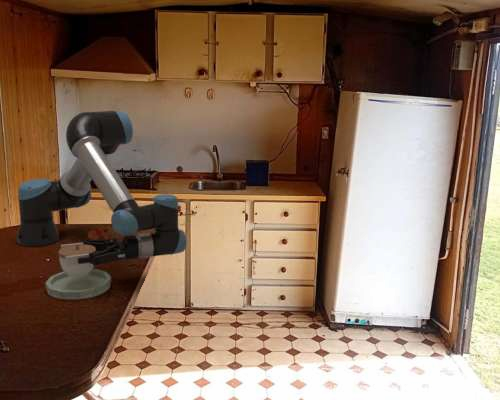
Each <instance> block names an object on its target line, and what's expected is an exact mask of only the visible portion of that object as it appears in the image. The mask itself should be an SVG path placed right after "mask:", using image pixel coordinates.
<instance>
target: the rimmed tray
mask: <svg viewBox="0 0 500 400" xmlns="http://www.w3.org/2000/svg"><path fill="white" fill-rule="evenodd" d="M111 283H112V276H111V275H110V274H109V273H108V272H107V271H104V270H101V269H96V268H93V269H92V270H91V271H90V272H89V274H88V275H87V276H84V277H79V278H74V277H70V276H68V274H67V273H65V272H64V271H61V272H59V273H56V274H54V275H53V274H52V275H51V276H50V277H49V278H48V279H47V280H46V281H45V289H46V291H47V294H48V295H49V296H50V297H52V298H54V299H56V300H57V299H58V300H63V301H64V300H65V301H77V300H78V301H79V300H87V299H91V298H95V297H97V296H100V295H103V294H104V293H106V292H107V291H108V290H110V288H111Z"/></svg>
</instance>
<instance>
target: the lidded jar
mask: <svg viewBox="0 0 500 400" xmlns="http://www.w3.org/2000/svg"><path fill="white" fill-rule="evenodd" d="M74 244H75V243H74ZM89 253H93V254H95V253H97V251H96V248H95V247H94V246H92V245H86V244H75V245H70V246H66V247H63V248H61V247H60V249H59V250H58V256H59V257H58V258H59V259H58V260H59V264H60V267H61V269H62V270H63V271H62V272H65V273H67V274H68V276H70V277H74V278H79V277H84V276H87V275H88V274H89V272H90V271H91V270H92V269H95V266H94V265H93V264H90V263H88V264H80V265H72V266H66V261H65V257H66V256H74V255H83V254H89ZM89 257H90V256H89Z"/></svg>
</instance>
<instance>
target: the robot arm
mask: <svg viewBox="0 0 500 400" xmlns="http://www.w3.org/2000/svg"><path fill="white" fill-rule="evenodd" d="M133 135H134V131H133V124H132V121H131V119H130V117H129V115H128V114H127V113H125V112H124V111H121V110H108V111H107V110H105V111H103V110H102V111H87V112H86V111H83V112H81V113H78V114H76V115H75V116H73V118H71V120H70V121H69V123H68V125H67V127H66V133H65V137H66V138H65V139H66V144H67V147H68V149H69V151H70V153H71V155H72V156H74V157H75V158H76V159H75V161H74V163H73V164H72V166H71V167H70V169H69V170H68V171H66V172H64V173H63V174H61V177H60V178H59V180H53V181H51V180H50V178H44V177H43V178H34V179H29V180H27V181H24V182H22V183H21V184H19V186H18V188H17V190H18V191H17V192H18V193H17V198H18V206H19V207H18V208H19V219H20V224H19V228H18V231H17V233H16V234H17V235H16V241H17V242H16V243H17V245H19V246H22V247H23V246H24V247H41V246H47V245H51V244H55V243H56V242H58V241H60V240H59V239H60V233H59V232H60V231H58V228H57V224H56V223H55V220H54V212H58V211H59V212H60V211H64V210H68V209H69V210H70V209H77V208H81V207H84V206H86V205H87V204H89V202H91V201H90V200H91V198H92V193H93V191H92V190H93V188H92V185H91V181H93V183H94V184H95V186H96V188H97V189H98V190H99V192H100V194H101V196H102V198H103V199H104V200H105V202H106V204H107V205H108V207H109V209H110V210H111V212H112V215H111V218H110V222H111V225H112V229H113V232H114V233H116V234H117V235H120V236H123V238H122V241H118V240H117V239H116V238H109V239H108V238H107V239H104V240H91V239H85V240H83V242H75V243H67V244H61V245H60V249H61V248H63V247H66V246H70V245H75V244H86V245H92V246H94V247H95V248H96V253H95V254H93V253H89V254H83V255H74V256H66V257H65V261H66V266H72V265H80V264H88V263H90V264H93V265H94V267H95V266H99V265H104V264H107V263H111V262H115V261H121V260H126V261H127V260H136V259H138V258H140V259H143V258H144V259H148V258H151V257H158V256H159V257H160V256H168V255H170V256H171V255H172V256H173V255H176V254H181V253H184V252H185V250H186V248H187V236H186V233H185V232H184V230H182V229H179V210H180V209H179V202H178V201H179V200H178V197H177V196H176V195H174V194H170V193H167V194H166V193H164V194H163V193H162V194H156V196H154V198H153V203H149V204H145V205H138V202H137V201H136V199H135V198H134V196H133V195H132V194H131V192H130V191H129V189H128V187H127V186H126V184H125V182H124V181H123V179H122V178H121V177H120V176H119V173H118V172H117V171H116V169H115V167H114V166H113V164H112V163H111V161H110V159H108V156H109V155H113V154H114V153H116V151H117V150H118V149H119V147H120V145H126V144H130V143H131V141H132V139H133ZM151 229H154V232H146V233H145V232H144V233H139V232H143V231H147V230H151ZM136 233H138V234H137V235H135V234H136ZM89 256H90V257H89Z"/></svg>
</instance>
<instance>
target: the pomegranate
mask: <svg viewBox="0 0 500 400" xmlns="http://www.w3.org/2000/svg"><path fill="white" fill-rule="evenodd" d="M107 231H109V229H107V228H106V229H104V230H103V229H101V228H92V229H90V231H89V232H88V234H87V238H89V240H104V239H108V235H107V234H106V233H107Z"/></svg>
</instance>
